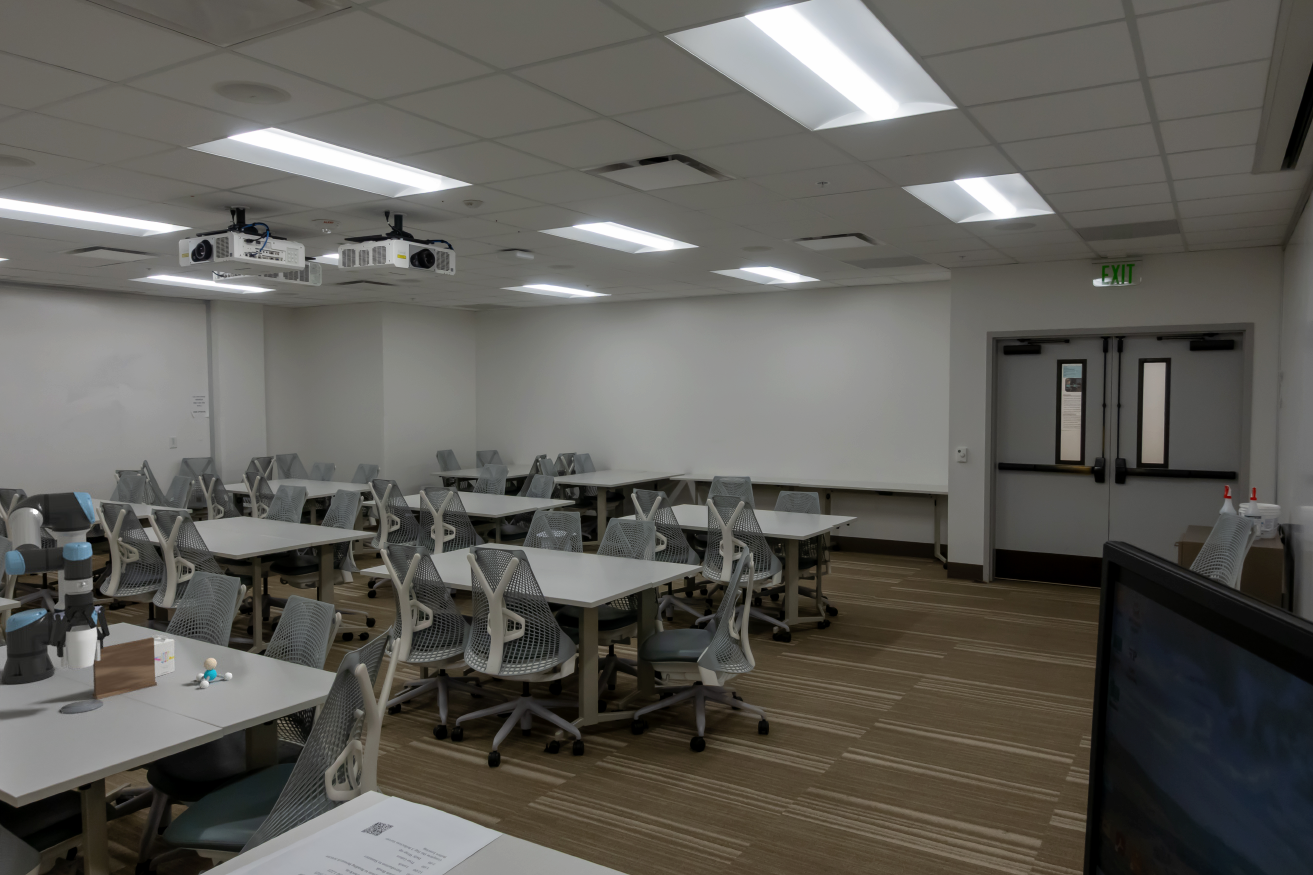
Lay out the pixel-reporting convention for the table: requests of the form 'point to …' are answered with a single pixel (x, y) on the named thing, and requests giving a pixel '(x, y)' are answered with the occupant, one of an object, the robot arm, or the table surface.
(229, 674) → the molecule model
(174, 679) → the table surface
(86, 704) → the grey smooth rounded part
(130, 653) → the brown wooden slab
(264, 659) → the table surface
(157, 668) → the ink box
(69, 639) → the cup
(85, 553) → the robot arm
